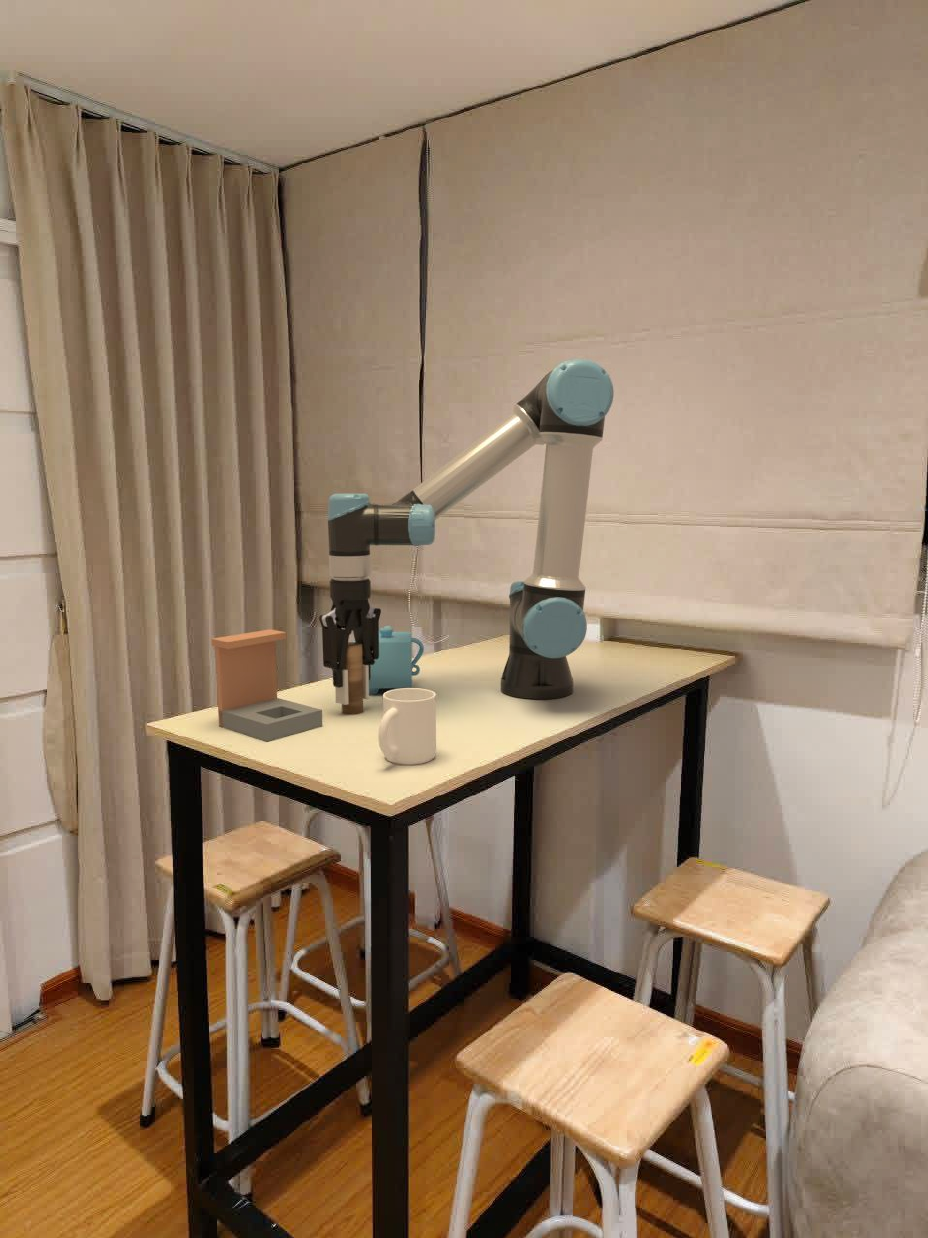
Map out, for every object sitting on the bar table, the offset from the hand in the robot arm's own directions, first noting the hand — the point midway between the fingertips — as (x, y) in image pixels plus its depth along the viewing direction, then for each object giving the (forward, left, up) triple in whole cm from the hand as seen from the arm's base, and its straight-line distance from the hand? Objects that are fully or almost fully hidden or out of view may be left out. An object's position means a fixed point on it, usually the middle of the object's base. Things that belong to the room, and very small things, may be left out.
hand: (352, 700), depth 161 cm
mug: (-27, +14, -2) cm, 31 cm away
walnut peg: (0, 0, -2) cm, 2 cm away
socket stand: (+4, +16, -2) cm, 17 cm away
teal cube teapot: (+10, -19, -2) cm, 22 cm away
